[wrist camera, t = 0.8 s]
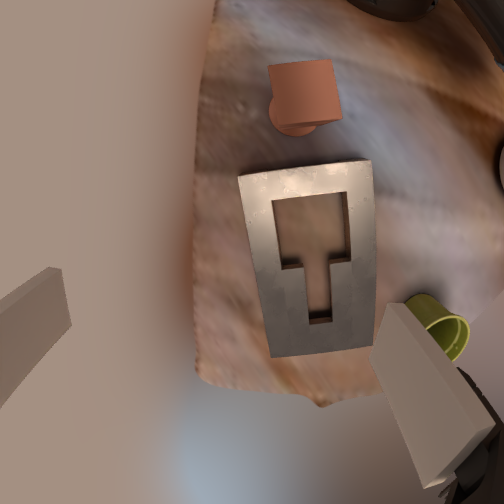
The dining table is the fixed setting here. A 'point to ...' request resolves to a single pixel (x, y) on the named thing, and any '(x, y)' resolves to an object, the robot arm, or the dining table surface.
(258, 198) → the slot bracket
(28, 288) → the robot arm
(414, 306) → the plant pot
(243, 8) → the dining table surface
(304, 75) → the peg
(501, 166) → the teacup
